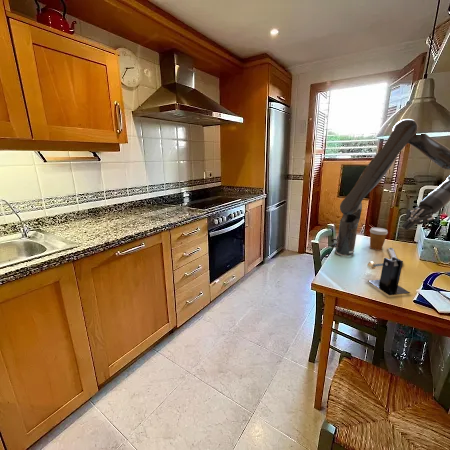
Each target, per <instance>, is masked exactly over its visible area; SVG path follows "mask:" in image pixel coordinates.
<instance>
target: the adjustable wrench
mask: <svg viewBox="0 0 450 450" xmlns="http://www.w3.org/2000/svg"><path fill="white" fill-rule="evenodd" d="M387 251H388V254H389V256H390V258H389V259H390V260H392V257H395V258H397V259H399V258H398V257H397V255H396V252H395V249H394V248H393V247H388V248H387ZM403 264H404V263H403ZM403 264H402V266H403Z"/></svg>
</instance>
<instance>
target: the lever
mask: <svg viewBox="0 0 450 450" xmlns="http://www.w3.org/2000/svg"><path fill="white" fill-rule="evenodd" d="M392 261H394V262H395V263H394V266H398V262H397V260H392ZM377 267H383V262H381V263H376V262H374V261H369V262H368V263H367V268H368V269H369V270H371V271H373V270H376V269H377Z"/></svg>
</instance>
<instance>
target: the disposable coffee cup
mask: <svg viewBox="0 0 450 450" xmlns="http://www.w3.org/2000/svg"><path fill="white" fill-rule="evenodd" d="M369 232H370V233H369V248H370V249H373V250H378V251H379V250H380V251H381V250H382V249H383V246H384V243H385V241H386V238H387V235H388V234H389V231H388V229H386V228H383V227H371V228H370V229H369Z"/></svg>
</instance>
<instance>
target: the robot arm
mask: <svg viewBox="0 0 450 450" xmlns="http://www.w3.org/2000/svg"><path fill="white" fill-rule="evenodd" d="M418 127H419V125H418V123H417V121H415V120H414V119H411V118H404V119H402V120H400V121H398V122H396V123H395V125H394V126H393V128H392V131H391V132H390V135H389V136H388V138H387V140H386V142H385V143H384V145H383V146H382V148H380V150H379V151H378V152H377V153H376V154H375V155H374V156H373V158H372V159H371V160H370V162H369V163H368V164H367V166H366V168H364V170H363V171H362V173H361V175H360V176H359V178H358V180H357V181H356V182H355V184H354V186H353V188H352V189H350V192H349V193H348V194H347V195H346V196H345V197H344V198H343V200H342V201H341V202H340V204H339V210H340V213H341V214H342V216H341V218H340V219H339V226H338V232H337V233H338V234H337V236H336V238H332V239H331V242H332V241H335V242H336V243H335V242H333V243H331V246H332V247H334V248H335V249H334V252H335V254H336V255H338V256H340V257H342V256H348V257H349V256H354V254H355V247H356V239H357V234H358V233H357V231H358V226H359V223H360V221H361V217H362V215H361V214H362V210H363V200H364V199H365V198H366V196H367V195H368V194H369V193H370V192H371V191H372V190H374V188H375V187H376V186H378V185H379V183H380V182H381V181H382V180H383V179H384V177H385V176H386V174H387V173H388V172H389V170H390V169H391V167H392V166H393V164H394V163H395V161H396V159H397V157H398V155H399V154H400V153H401V152H402V151H403V149H404V148H405V147H406V146H407V144H409V145H410V146H412V147H414V148H415V149H417V150H418V151H419V152H421V153H422V154H423V155H424V156H425V157H427V158H428V159H429V160H430V161H431V162H433V163H434V164H435V165H437V166H439V167H440V168H441V169H443V170H446V171H447V170H450V148H449V147H447V146H446V145H444V144H442V143H440V142H439V141H438V140H436V139H434V138H433V137H430V136H429V135H428V134H427V133H425V134H421V135H416V133H417V131H418ZM448 203H450V174H449V176H447V177H446V179H445V181H443V182H442V183H441V184H439V186H437V187H436V188H435V189H434V190H432V191H431V192H430V193H428V195H427V196H425V197H424V198H423V199H422V200H420V202H419V204H418V206H416V207H414V209H410V208H408V209H407V210H406V213H405V219H406V221H405V222H404V223H403V224H402V225H401V228H402V229H403V230H405V231H408V230H409V229H411V228H412V227H413V226H416V225H417V226H421V225H423V224H427V223H429V222H432V221H434V220H435V217H433V215H435V214H437V213H438V212H439V211H440V210H442V209H443V208H444V207H445V206H446V205H448Z"/></svg>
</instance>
